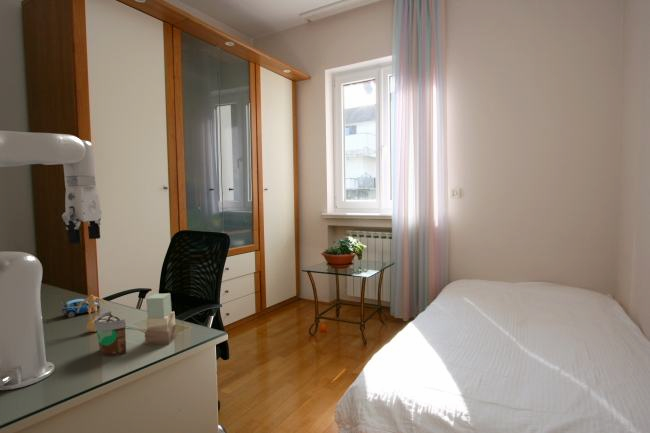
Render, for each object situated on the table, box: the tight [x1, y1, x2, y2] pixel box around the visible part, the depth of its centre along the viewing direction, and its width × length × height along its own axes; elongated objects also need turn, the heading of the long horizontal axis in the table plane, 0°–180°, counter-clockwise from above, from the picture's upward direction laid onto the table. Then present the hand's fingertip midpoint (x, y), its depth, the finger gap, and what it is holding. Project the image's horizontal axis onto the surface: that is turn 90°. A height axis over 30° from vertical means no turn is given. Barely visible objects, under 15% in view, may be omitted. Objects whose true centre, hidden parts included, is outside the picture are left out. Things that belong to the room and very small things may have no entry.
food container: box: [93, 311, 127, 357], centre depth 107 cm, size 12×6×10 cm, turn 47°
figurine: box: [77, 294, 108, 333], centre depth 124 cm, size 8×6×12 cm
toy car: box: [59, 298, 101, 319], centre depth 143 cm, size 6×12×6 cm, turn 133°
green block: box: [146, 292, 173, 318], centre depth 114 cm, size 5×5×6 cm
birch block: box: [145, 311, 176, 332], centre depth 115 cm, size 6×6×4 cm
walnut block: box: [144, 322, 179, 346], centre depth 115 cm, size 7×7×4 cm
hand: (85, 240), depth 111 cm, fingers open, 9 cm apart
